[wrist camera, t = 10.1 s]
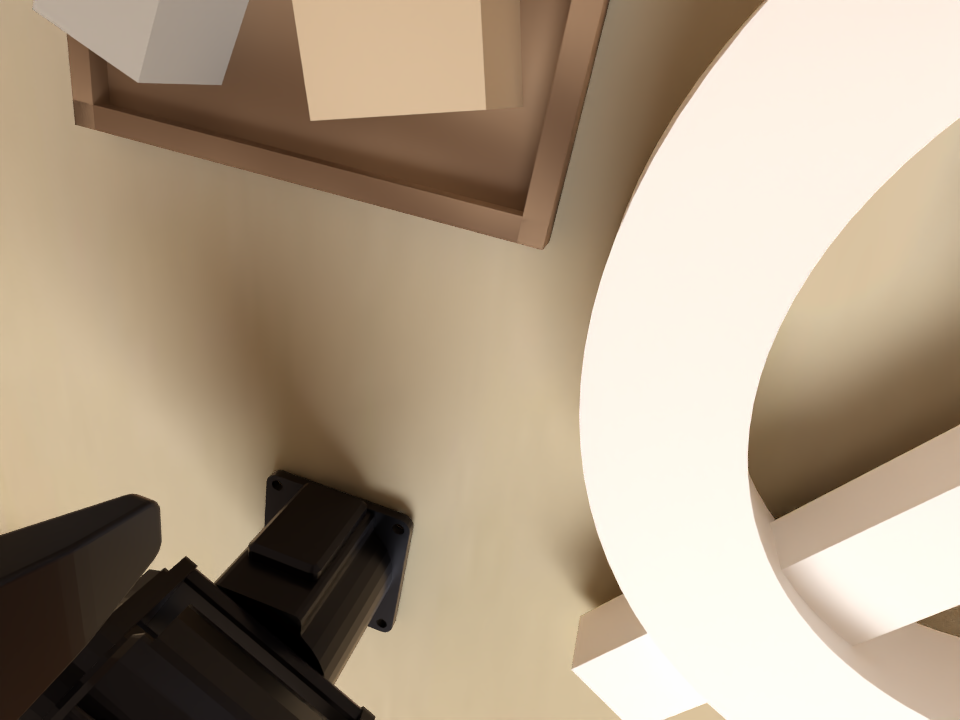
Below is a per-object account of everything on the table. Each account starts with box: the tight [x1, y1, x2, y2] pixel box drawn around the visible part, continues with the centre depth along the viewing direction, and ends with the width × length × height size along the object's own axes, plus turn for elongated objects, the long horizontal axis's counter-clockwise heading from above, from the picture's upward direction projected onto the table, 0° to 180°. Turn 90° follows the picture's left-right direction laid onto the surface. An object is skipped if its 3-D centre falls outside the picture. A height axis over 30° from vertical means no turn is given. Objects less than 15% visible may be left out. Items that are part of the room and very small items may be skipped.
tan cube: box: [292, 0, 523, 121], centre depth 16 cm, size 4×4×4 cm
